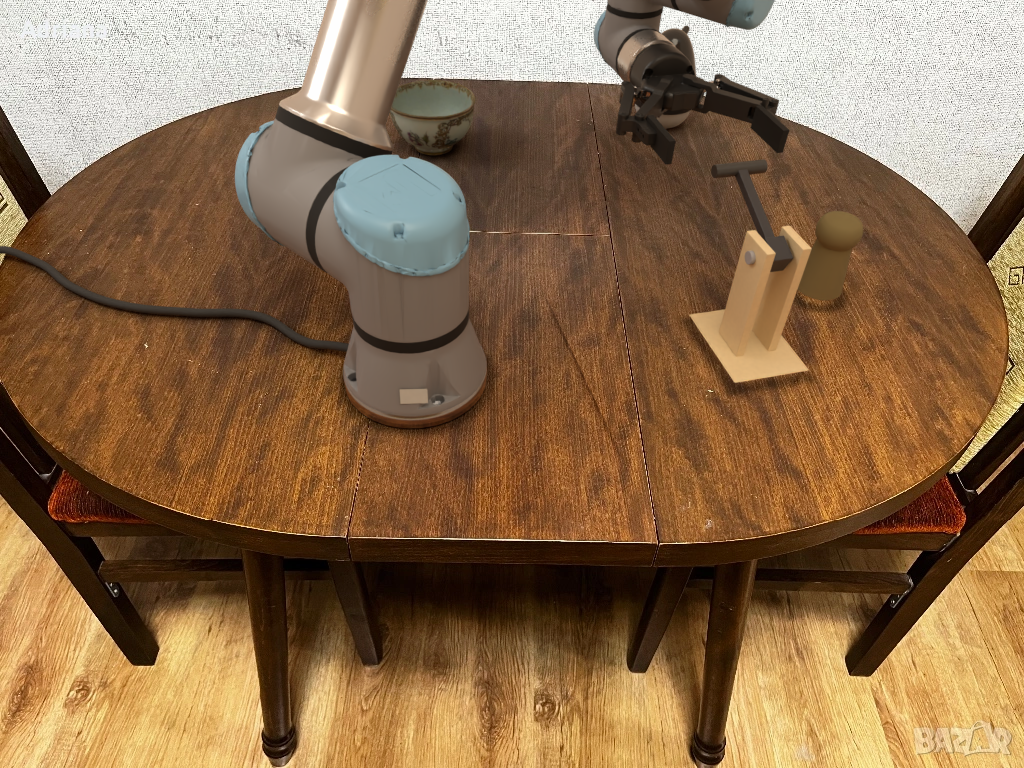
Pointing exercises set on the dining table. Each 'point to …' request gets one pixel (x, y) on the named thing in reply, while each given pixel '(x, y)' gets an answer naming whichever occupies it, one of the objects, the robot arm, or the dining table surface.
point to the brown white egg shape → (685, 46)
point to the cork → (830, 255)
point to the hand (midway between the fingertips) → (727, 147)
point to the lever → (756, 206)
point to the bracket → (757, 312)
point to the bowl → (432, 114)
